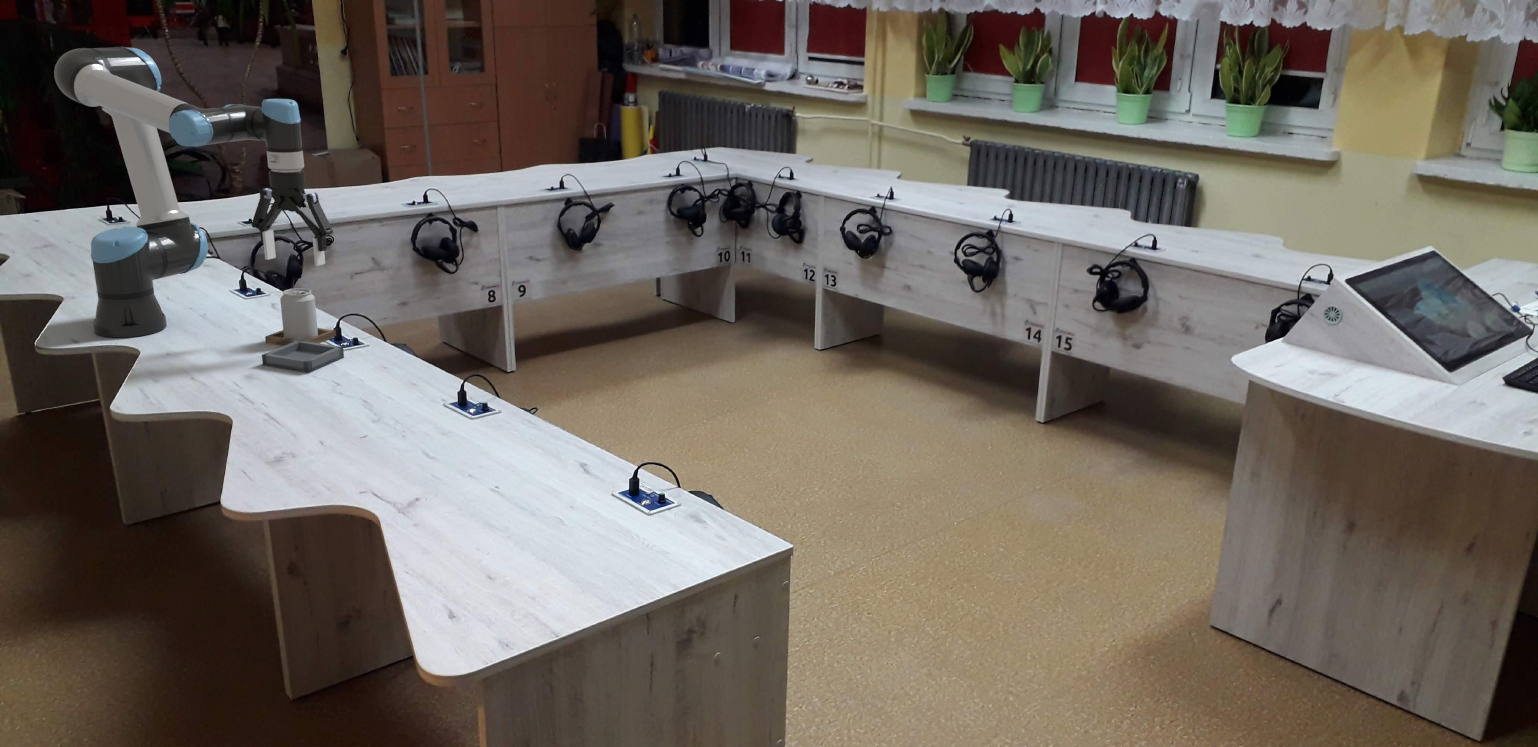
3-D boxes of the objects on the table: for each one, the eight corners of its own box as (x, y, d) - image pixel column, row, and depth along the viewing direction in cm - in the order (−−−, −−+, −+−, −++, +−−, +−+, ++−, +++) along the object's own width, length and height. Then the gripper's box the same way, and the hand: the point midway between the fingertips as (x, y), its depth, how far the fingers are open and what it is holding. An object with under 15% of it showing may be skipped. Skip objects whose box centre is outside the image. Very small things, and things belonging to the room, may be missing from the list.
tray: (262, 365, 246) (261, 354, 245) (299, 350, 257) (298, 340, 256) (309, 373, 243) (308, 362, 242) (344, 357, 254) (343, 347, 253)
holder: (265, 342, 261) (265, 336, 260) (297, 330, 271) (296, 324, 270) (305, 349, 258) (305, 342, 258) (336, 336, 268) (335, 330, 268)
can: (306, 345, 260) (302, 296, 257) (277, 342, 262) (272, 293, 258) (324, 337, 267) (320, 288, 264) (296, 333, 269) (292, 285, 265)
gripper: (228, 167, 251) (238, 259, 258) (322, 176, 245) (330, 270, 252) (252, 163, 258) (261, 253, 265) (344, 172, 252) (351, 264, 259)
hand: (295, 261), depth 258 cm, fingers open, 13 cm apart
